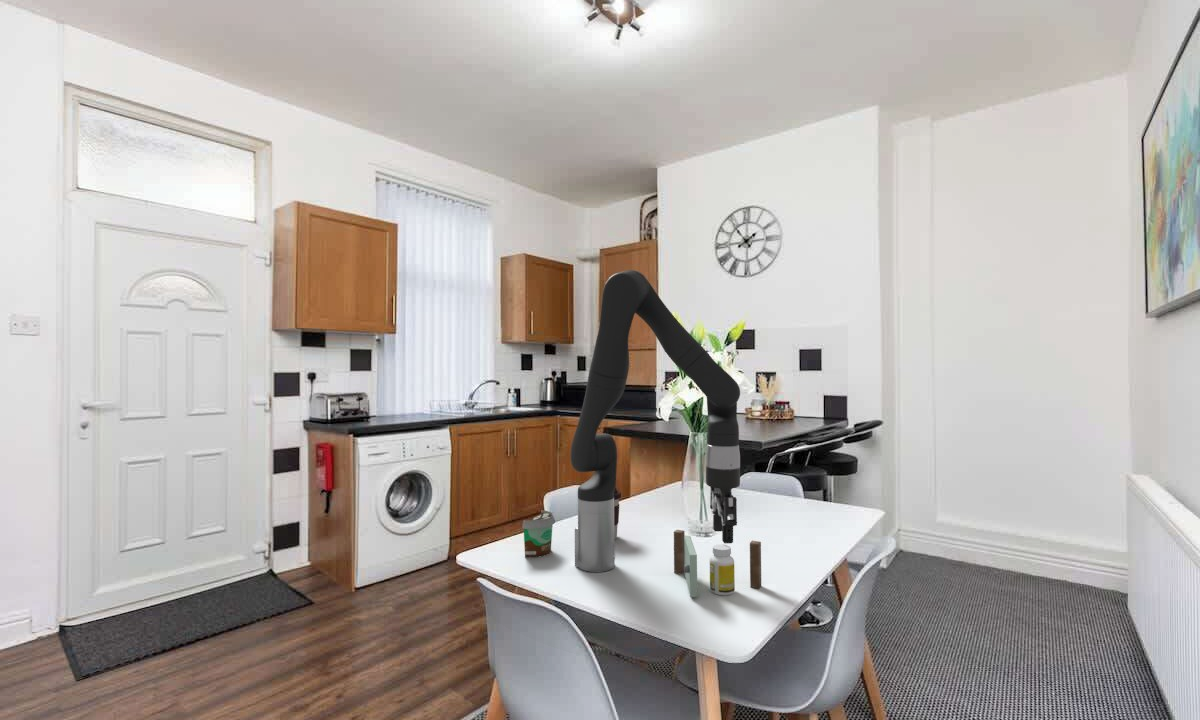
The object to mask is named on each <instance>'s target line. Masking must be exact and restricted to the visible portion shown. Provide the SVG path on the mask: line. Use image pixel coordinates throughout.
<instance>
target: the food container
mask: <svg viewBox="0 0 1200 720" xmlns="http://www.w3.org/2000/svg"><path fill="white" fill-rule="evenodd" d="M555 523H556V519H555V516H554V514H553V512H551V511H549V510H544V509H543V510H542V509H541V510H540V514H538V515H535V516H532V517H531V518H530V519H529V520H526V519H524V520H523V522H522V529H523V542H524V544H523V545H524V558H529V557H530V558H540V557H539V556H541V557H545V556H548V555H549V554H551V552H552V541H553V540H552V537H553V525H554V524H555ZM547 554H548V555H547ZM544 555H545V556H544Z"/></svg>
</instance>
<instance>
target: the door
mask: <svg viewBox="0 0 1200 720" xmlns="http://www.w3.org/2000/svg"><path fill="white" fill-rule="evenodd" d="M697 554H698V553H697V552H696V549H695V544H694V542H693V539H692V536H691V535H685V536H684V573H683V574H684V577H685V580H686V584H687V588H688V593H689V597H690V598H698V555H697Z"/></svg>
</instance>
